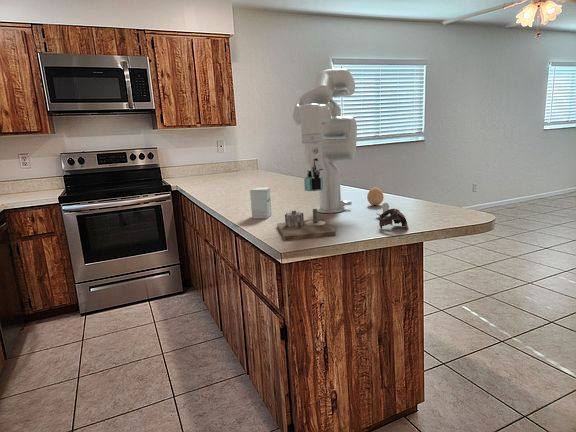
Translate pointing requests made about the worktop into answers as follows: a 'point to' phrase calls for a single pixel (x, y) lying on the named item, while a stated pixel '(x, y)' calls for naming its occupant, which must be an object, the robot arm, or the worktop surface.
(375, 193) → the egg
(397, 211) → the brown arched figurine
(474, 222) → the worktop surface
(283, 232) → the gear board
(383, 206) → the pacifier
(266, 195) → the supplement box
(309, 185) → the teal gear
